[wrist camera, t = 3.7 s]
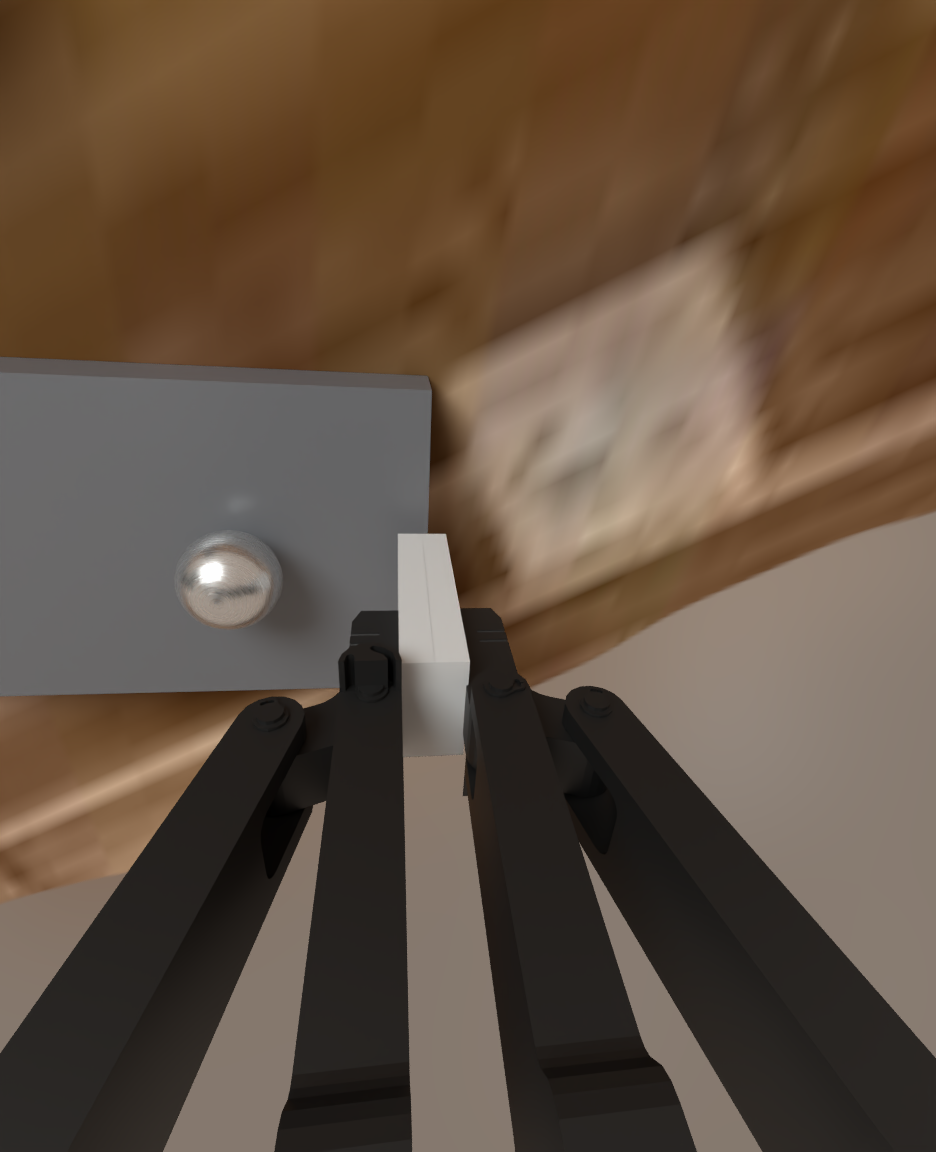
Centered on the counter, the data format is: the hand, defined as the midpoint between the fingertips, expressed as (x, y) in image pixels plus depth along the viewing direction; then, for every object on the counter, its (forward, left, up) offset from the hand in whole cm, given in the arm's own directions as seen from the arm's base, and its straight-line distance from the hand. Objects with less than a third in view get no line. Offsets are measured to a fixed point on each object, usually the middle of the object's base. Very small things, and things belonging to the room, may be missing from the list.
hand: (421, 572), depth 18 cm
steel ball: (-6, 0, 0) cm, 6 cm away
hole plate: (-12, 0, -4) cm, 12 cm away
